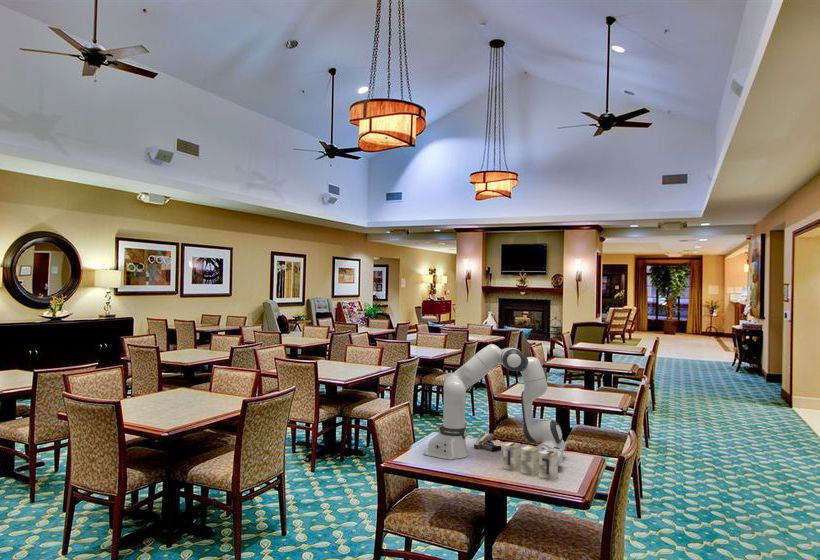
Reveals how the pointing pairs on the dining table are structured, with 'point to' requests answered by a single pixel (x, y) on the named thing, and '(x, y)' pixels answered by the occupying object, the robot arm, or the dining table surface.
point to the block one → (512, 456)
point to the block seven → (548, 465)
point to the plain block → (530, 460)
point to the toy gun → (486, 443)
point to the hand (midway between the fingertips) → (533, 459)
